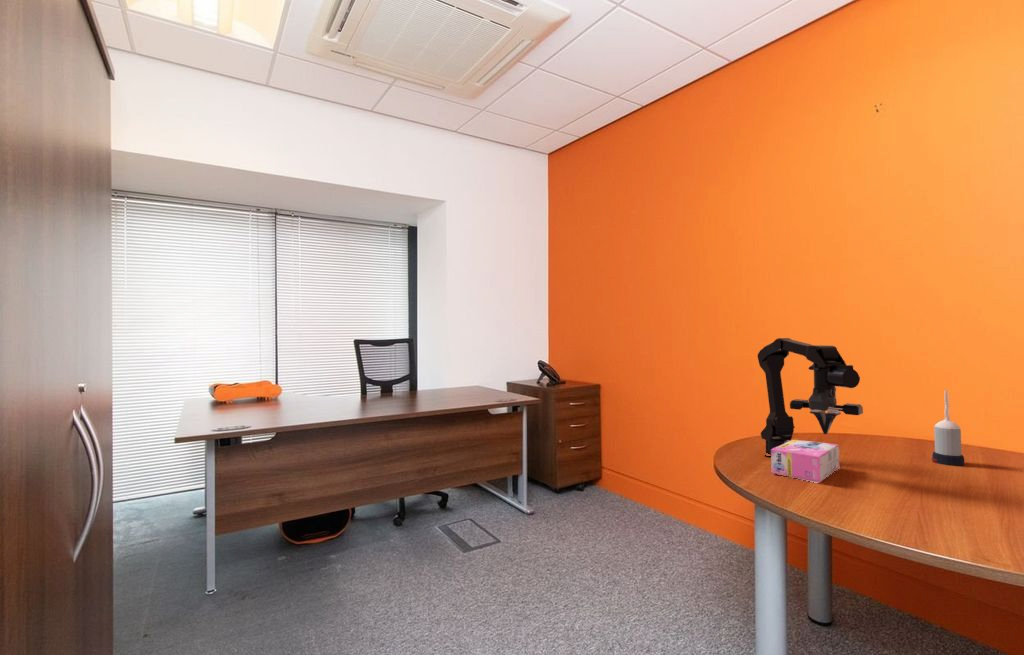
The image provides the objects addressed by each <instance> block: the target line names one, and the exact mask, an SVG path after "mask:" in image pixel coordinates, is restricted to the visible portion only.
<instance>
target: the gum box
mask: <svg viewBox="0 0 1024 655" xmlns="http://www.w3.org/2000/svg"><path fill="white" fill-rule="evenodd" d="M839 446H840V445H839V444H836V443H830V442H821V441H820V442H819V441H810V440H803V439H802V440H801V439H793V438H792V439H791V440H787V442H786V443H784V444H782V445H780V446H778V447H775V448H773V449H771V457H770V471H771V474H775V475H778V474H780V475H785V476H791V477H796V478H801V479H806V480H812V481H817V482H819V483H821V482H822V481H824V480H826V479H827V478H828V477H830V476H831V475H833V474H834V473H835V472H834V471H835V470H837V469H838V468H839V467H841V466H840V465H841V464H840V447H839ZM837 471H838V470H837ZM833 472H834V473H833ZM832 473H833V474H832ZM830 474H831V475H830ZM829 475H830V476H829ZM826 477H827V478H826Z"/></svg>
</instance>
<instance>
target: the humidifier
mask: <svg viewBox="0 0 1024 655" xmlns="http://www.w3.org/2000/svg"><path fill="white" fill-rule="evenodd" d="M944 406H945V407H944V419H943V420H940V421H939V422H937V423H936V424H934V429H933V430H934V451H933V452H932V454H931V456H932V457H931V460H932V462H933V463H935V464H939V465H944V466H952V467H964V466H965V456H964V455H963V454H962V430H961V427H960V425H958V424H957V423H956V422H955V421H952V420H951V419H950V418H951V417H950V416H951V413H950V408H951V407H950V406H951V405H950V404H949V395H948V390H944Z"/></svg>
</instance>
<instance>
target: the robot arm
mask: <svg viewBox="0 0 1024 655" xmlns="http://www.w3.org/2000/svg"><path fill="white" fill-rule="evenodd" d="M790 353H793V354H796V355H800V356H803V357H805V358H806V360H808V361H809V362H811V363H813V364H812V365H809V367H808V370H809V371H813V389H812V393H811V395H810V397H809V398H808V399H800V398H796V399H792V400H791V401H790V402H789V409H791V410H802V409H809V410H810V411H809V414H812V415H814V416H815V418H816V420H817V421H818V424H819V426H820V429H821V430H822V433H823V434H824V435H828V433H829V431H830V429H831V426H832V424H833V423H834V420H835V419H836V417H837V416H839V415H841V414H842V413H841V412H843V414H845V415H851V416H861V415H863V413H864V411H863V410H864V407H863V406H862V405H861V404H860V403H850V402H849V403H844V404H837V403H838V402H837V398H836V396H837V395H836V392H837V388H838V387H841V388H847V389H855V388H856V387H857V386H858V385H859V384H860V381H861V380H860V379H861V377H860V374H859V373H858V371H856V369H854V365H852V364H847V363H846V361H845V360H844V358H843V357H842V355H841V353H840V352H839V350H838V347H836V346H834V345H821V344H820V345H817V344H816V345H815V344H810V343H806V342H802V341H799V340H794V339H791V338H789V337H782V338H781V337H778V338H776V339H775V340H773V342H771V343H769V344H767V345H765V346H763V348H762V349H760V350H759V351H758V353H757V360H758V363H759V364H758V365H759V367H760V369H762V371H763V372H764V375H765V381H766V389H767V390H766V391H767V399H768V404H769V405H768V406H769V413H768V415H767V417H766V418H765V419H766V420H765V421H766V422H765V427H764V428H763V429H762V430H761V432H760V437H761V439H762V440H765V454H766V453H768V454H770V455H771V449H773V448H775V447H778V446H780V445H782V444H784V443H786V442H788V441H790V440H793V435H794V430H795V424H794V417H793V416H790V415H789V414H788V413H787V410H786V404H785V397H784V390H783V382H782V376H781V375H782V374H781V372H782V370H783V368H784V366H785V359H786V358H787V357H788V356H789V355H790ZM836 387H837V388H836Z"/></svg>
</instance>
